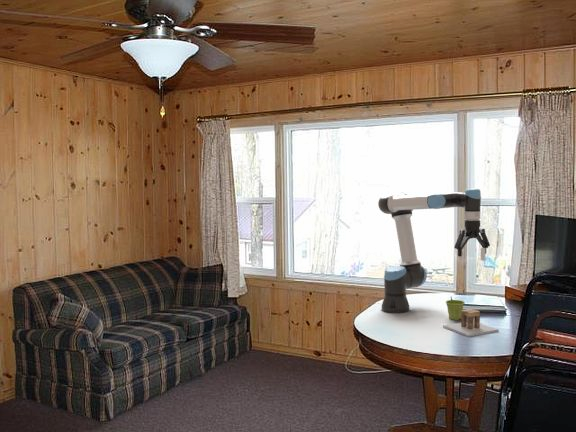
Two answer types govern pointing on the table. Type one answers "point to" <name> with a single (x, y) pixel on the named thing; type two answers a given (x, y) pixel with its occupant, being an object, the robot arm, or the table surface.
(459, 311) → the plant pot
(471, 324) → the notched wooden block
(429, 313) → the table surface
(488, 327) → the mat
